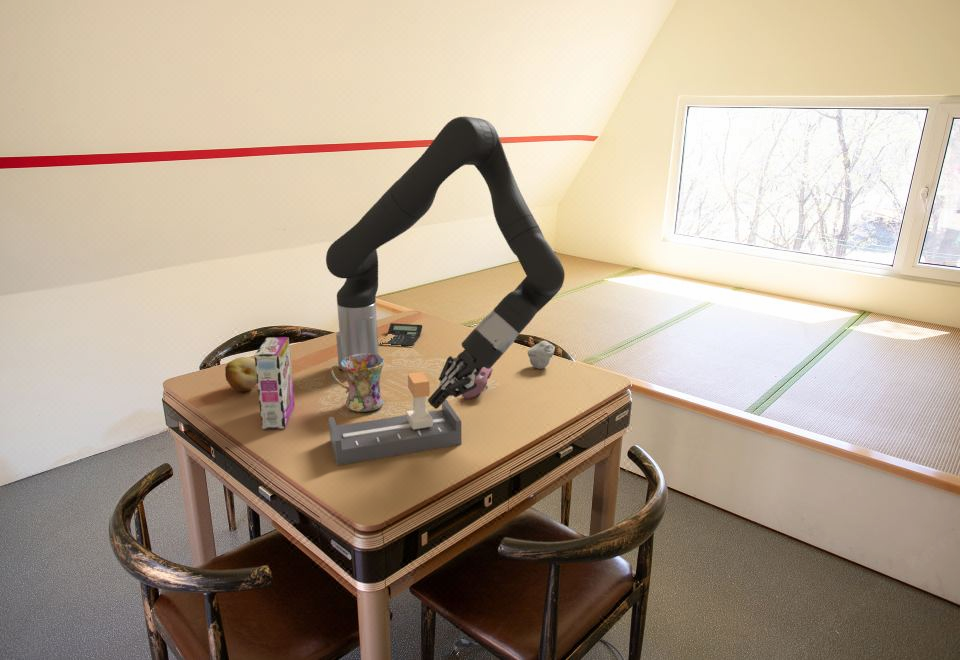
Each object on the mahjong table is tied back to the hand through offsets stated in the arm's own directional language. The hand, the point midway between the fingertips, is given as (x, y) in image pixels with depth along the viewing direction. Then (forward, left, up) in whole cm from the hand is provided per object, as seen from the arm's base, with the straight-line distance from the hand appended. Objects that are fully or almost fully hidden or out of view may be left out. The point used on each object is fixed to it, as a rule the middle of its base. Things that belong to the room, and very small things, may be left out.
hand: (431, 405), depth 129 cm
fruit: (-50, +2, -7) cm, 51 cm away
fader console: (-5, -5, -7) cm, 10 cm away
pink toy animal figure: (-1, +23, -7) cm, 25 cm away
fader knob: (-2, -2, -3) cm, 4 cm away
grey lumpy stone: (+8, +43, -7) cm, 44 cm away
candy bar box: (-33, -6, -7) cm, 35 cm away
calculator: (-35, +47, -7) cm, 59 cm away
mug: (-21, +6, -7) cm, 23 cm away
